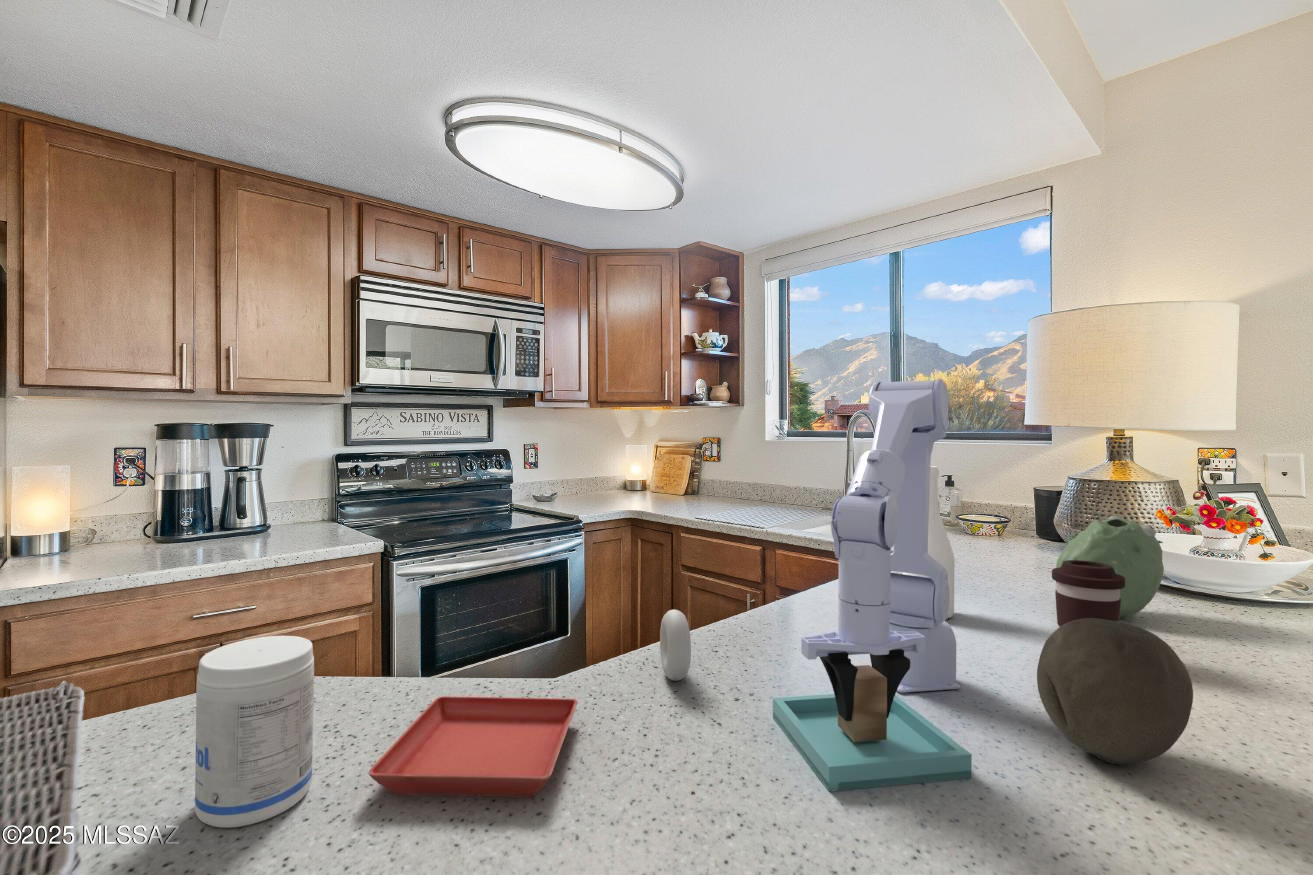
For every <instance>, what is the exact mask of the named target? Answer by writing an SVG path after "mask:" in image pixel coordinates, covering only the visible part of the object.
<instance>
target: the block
mask: <svg viewBox="0 0 1313 875" xmlns="http://www.w3.org/2000/svg"><path fill="white" fill-rule="evenodd" d="M854 666H855V667H856V668H857V669H858V671H857V674H856V678H855V683H854V690H853V713H852V720H851V721H845V720H844V719H843V718H842V717H841V716H840V715H839V714H838V726H839V727H840V728H841V729H842V730H843V731H844V732H845V733H846V734H847V735H848V736H849V738H850V739H851V740H852V741H853V742H862V741H874V740H887V678H886V677H885V676H883V675H882V674H881V673H879V672H878V671H877V670H875V669H874V668H873V667H872V665H870V664H864V665H863V664H862V665H854Z"/></svg>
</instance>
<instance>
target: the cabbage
mask: <svg viewBox="0 0 1313 875" xmlns="http://www.w3.org/2000/svg"><path fill="white" fill-rule="evenodd" d="M1075 535H1076V537H1075ZM1075 535H1074V534H1070V536H1068V537H1067V542H1068V543H1067V544H1066V545H1065V546H1064V549H1063V550H1062V551H1061V553H1060V555H1059V556H1058V558H1057V560H1056V565H1055V566H1056V567H1055V568H1059V567H1061V565H1062V563H1063V562H1064V561H1067V560H1084V561H1093V562H1099V563H1104V564H1108V565H1110V566H1112V567H1113V568H1114V570H1115V573H1116V574H1119V575H1121V576H1123V577H1124V578H1125V587H1124V588H1123V589H1120V599H1121V606H1120V618H1125V617H1128V616H1133V615H1135V614H1137V613H1139V612H1141V611H1142V610H1143V609H1144V608H1145V607H1146V606H1147V605H1148V604H1150V602H1151V601H1152V600H1153V598H1154V597H1155V596H1156V594H1157V592H1158V590H1159V588H1160V585H1161V582H1162V580H1163V576H1164V571H1165V567H1164V564H1163V549H1162V546H1161V544H1163V543H1164V541H1161V540H1158V539H1157V538H1156V535H1157V532H1156V530H1155V528H1154V527H1152V526H1150V525H1148V524H1140V523H1138V522H1136V521H1129V520H1128V519H1126V518H1123V517H1121V516H1119V515H1110V516H1109V517H1108V518H1105V519H1103V520H1099V519H1093V521H1092V522H1090V523H1089V524H1088V526H1087V527H1085V529H1084V530H1083V531H1080V532H1076V533H1075Z"/></svg>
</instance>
